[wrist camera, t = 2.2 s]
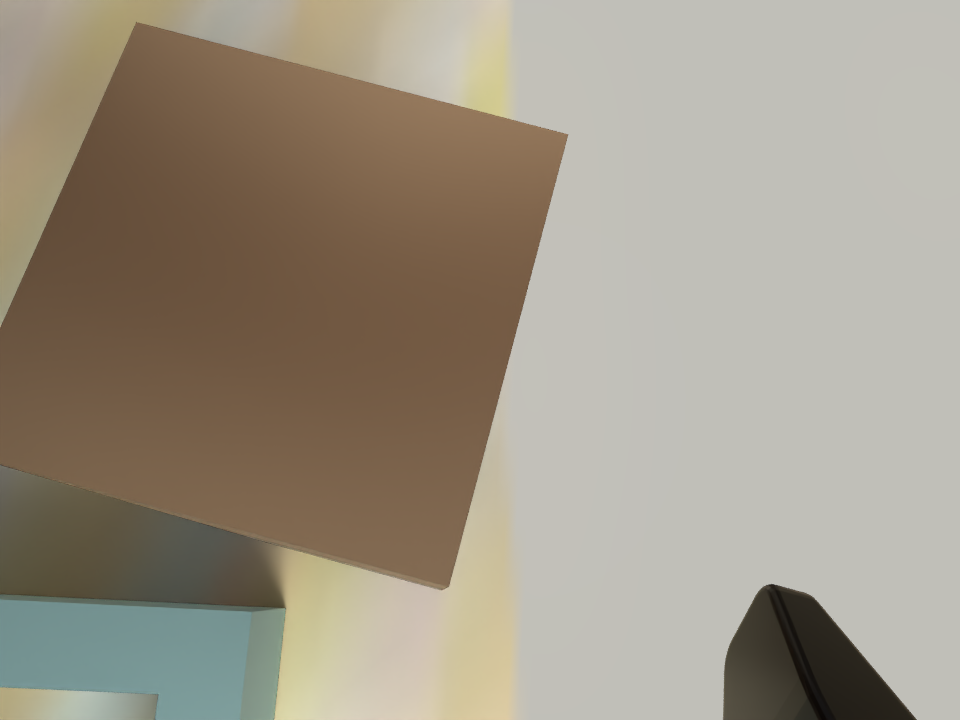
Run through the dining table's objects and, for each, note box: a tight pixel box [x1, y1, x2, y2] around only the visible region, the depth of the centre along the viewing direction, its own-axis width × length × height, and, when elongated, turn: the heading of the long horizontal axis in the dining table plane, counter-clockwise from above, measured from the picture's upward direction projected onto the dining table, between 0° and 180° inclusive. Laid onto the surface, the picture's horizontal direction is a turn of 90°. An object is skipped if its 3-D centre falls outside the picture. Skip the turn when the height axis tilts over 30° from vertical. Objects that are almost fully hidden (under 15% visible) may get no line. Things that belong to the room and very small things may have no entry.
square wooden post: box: [0, 22, 568, 590], centre depth 11 cm, size 4×4×11 cm
